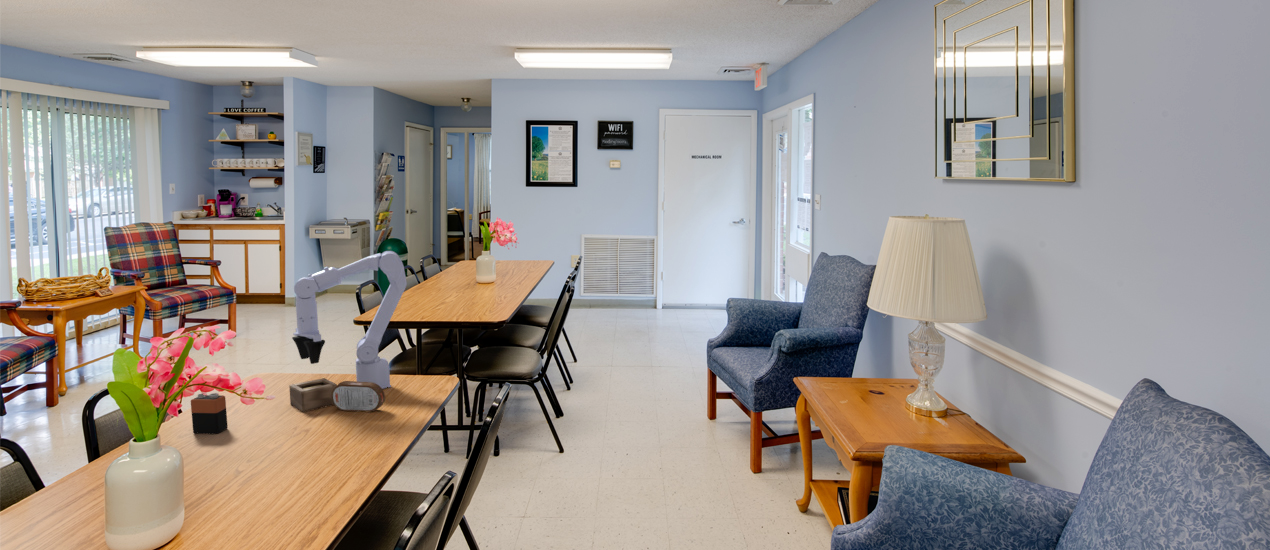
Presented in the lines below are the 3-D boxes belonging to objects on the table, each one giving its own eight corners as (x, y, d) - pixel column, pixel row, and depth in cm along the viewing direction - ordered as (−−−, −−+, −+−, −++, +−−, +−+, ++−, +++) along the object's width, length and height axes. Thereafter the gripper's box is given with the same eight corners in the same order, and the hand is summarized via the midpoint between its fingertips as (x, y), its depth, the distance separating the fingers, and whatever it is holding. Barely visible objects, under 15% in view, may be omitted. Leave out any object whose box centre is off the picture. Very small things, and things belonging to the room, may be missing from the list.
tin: (386, 410, 196) (384, 381, 195) (381, 413, 193) (379, 384, 192) (336, 408, 198) (334, 379, 197) (330, 411, 195) (328, 382, 194)
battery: (218, 434, 177) (215, 397, 175) (192, 433, 177) (189, 396, 175) (228, 428, 181) (225, 391, 180) (203, 427, 181) (200, 391, 180)
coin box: (325, 397, 207) (324, 378, 206) (337, 404, 201) (336, 384, 200) (290, 404, 200) (289, 384, 199) (302, 412, 194) (301, 391, 193)
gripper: (284, 315, 209) (287, 358, 211) (302, 322, 200) (305, 367, 201) (308, 312, 215) (310, 354, 216) (327, 319, 205) (329, 363, 206)
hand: (309, 360), depth 209 cm, fingers open, 7 cm apart
